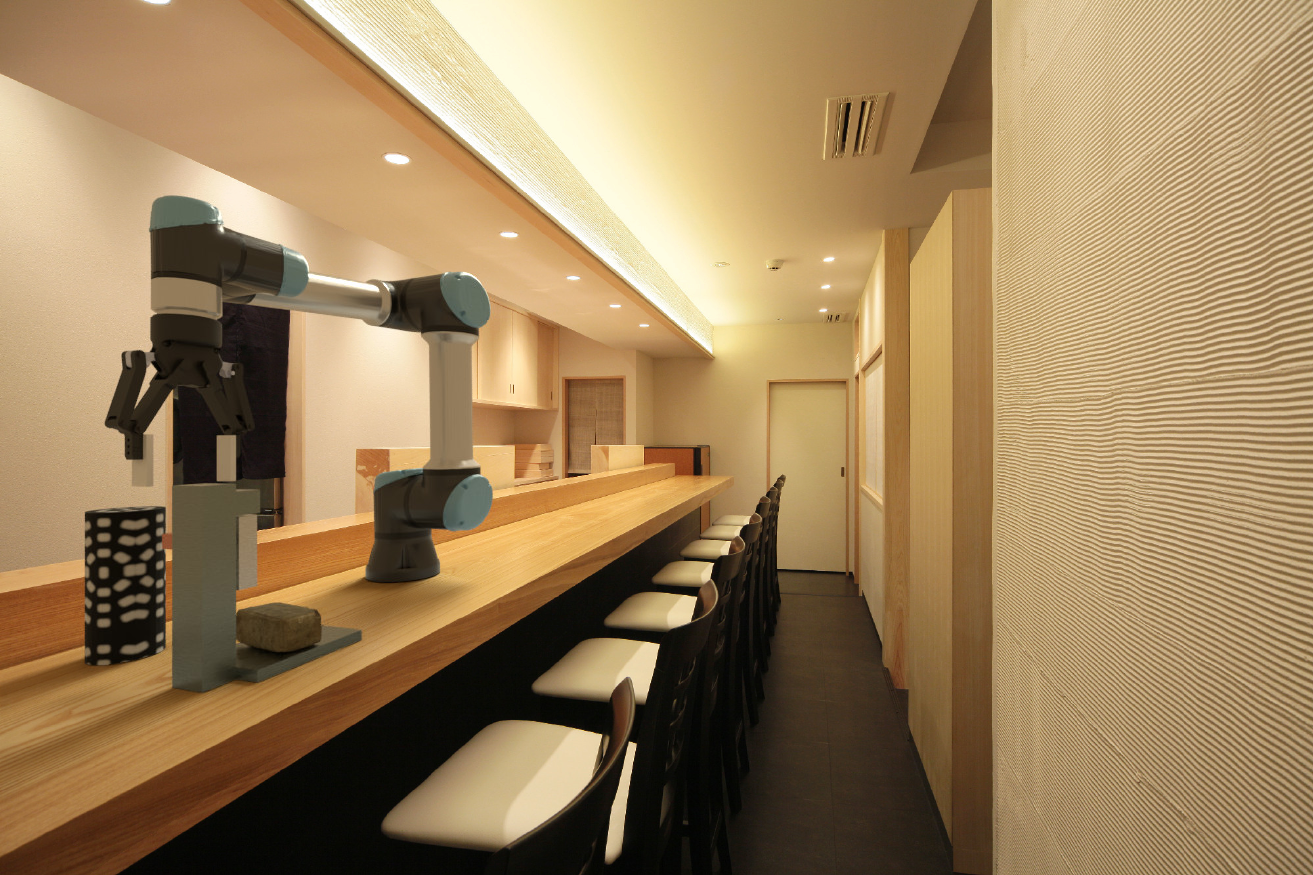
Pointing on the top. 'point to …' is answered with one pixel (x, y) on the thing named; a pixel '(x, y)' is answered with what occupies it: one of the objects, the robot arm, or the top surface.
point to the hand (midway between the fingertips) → (187, 483)
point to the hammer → (238, 550)
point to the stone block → (278, 627)
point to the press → (220, 595)
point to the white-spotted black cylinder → (124, 584)
